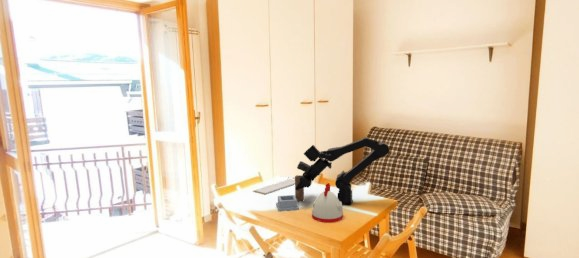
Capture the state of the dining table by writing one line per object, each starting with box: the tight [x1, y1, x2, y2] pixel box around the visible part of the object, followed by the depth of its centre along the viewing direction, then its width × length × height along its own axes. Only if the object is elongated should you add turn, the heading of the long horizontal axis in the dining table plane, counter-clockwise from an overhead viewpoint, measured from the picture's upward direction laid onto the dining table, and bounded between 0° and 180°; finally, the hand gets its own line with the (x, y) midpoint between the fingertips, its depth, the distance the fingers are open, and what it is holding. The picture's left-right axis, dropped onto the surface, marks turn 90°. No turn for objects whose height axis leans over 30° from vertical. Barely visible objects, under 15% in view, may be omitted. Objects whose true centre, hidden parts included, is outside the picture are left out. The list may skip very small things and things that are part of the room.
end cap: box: [275, 194, 300, 212], centre depth 159 cm, size 10×10×4 cm
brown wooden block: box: [294, 174, 305, 203], centre depth 168 cm, size 4×3×13 cm
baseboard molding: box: [252, 176, 295, 195], centre depth 195 cm, size 31×3×12 cm
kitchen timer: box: [311, 182, 344, 224], centre depth 145 cm, size 14×14×15 cm
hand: (296, 188), depth 168 cm, fingers open, 5 cm apart
